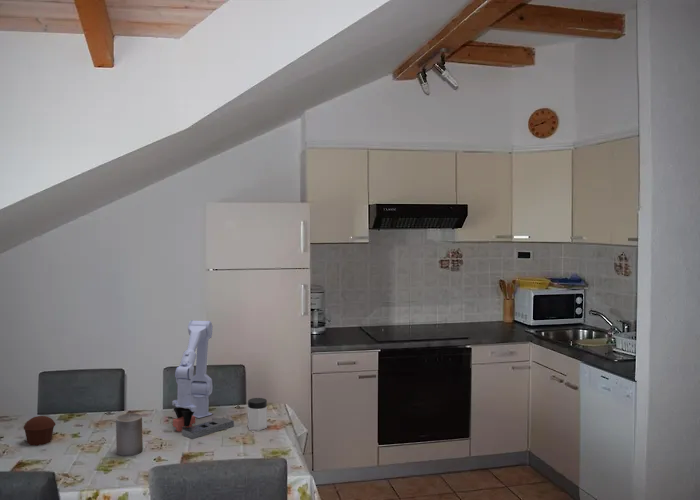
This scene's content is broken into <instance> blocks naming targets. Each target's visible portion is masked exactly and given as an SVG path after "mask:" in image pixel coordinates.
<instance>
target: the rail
mask: <svg viewBox="0 0 700 500" xmlns="http://www.w3.org/2000/svg"><path fill="white" fill-rule="evenodd" d="M234 426H235V420H233V419H231V418H227V417H224V416H223V417H220V418H215V419H213V420H209V421H205V422H202V423H200V424H196V425H192V427H188V428H186V427H184V428H182V431H181V436H184V437H186V438H189V439H192V440H193V439H197V438H201V437H203V436H206V435H209V434H212V433H213V434H214V433H217V432H219V431H223V430H227V429H229V428H232V427H234Z"/></svg>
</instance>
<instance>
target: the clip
mask: <svg viewBox="0 0 700 500" xmlns="http://www.w3.org/2000/svg"><path fill="white" fill-rule="evenodd" d="M193 424H196V417H195V416H193V415H192V418H191V421H190V425H189V426H185V425H184V417H180V418H177V417H176V418H173V419H172V427H174V428H175V430H176V432H179V433H182V429H183V427H184V428H188V427H192V426H193Z"/></svg>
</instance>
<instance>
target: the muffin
mask: <svg viewBox="0 0 700 500" xmlns="http://www.w3.org/2000/svg"><path fill="white" fill-rule="evenodd" d="M55 426H56V422H55V420H54V419H53V418H51V417H49V416H46V415H37V416H33V417H32V418H30V419H28V420H27V421H26V422H25V424H24V425H23V430H24V432H25V439H26V444H27V445H29V446H42V445H47V444H49V443H51V441H52V440H53V434H54V428H55Z"/></svg>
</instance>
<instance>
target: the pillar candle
mask: <svg viewBox="0 0 700 500" xmlns="http://www.w3.org/2000/svg"><path fill="white" fill-rule="evenodd" d="M115 431H116V432H115V434H116V439H115V441H116V444H115V445H116V447H115V448H116V454H117V455H118V456H121V457H122V456H124V457H125V456H134V455H138V454H140V453H142V452H143V449H144V447H143V445H144V444H143V443H144V442H143V416H142V415H141V414H139V413H136V412H135V413H133V412H131V413H123V414H120V415H118V416H117V417H116V418H115Z"/></svg>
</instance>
